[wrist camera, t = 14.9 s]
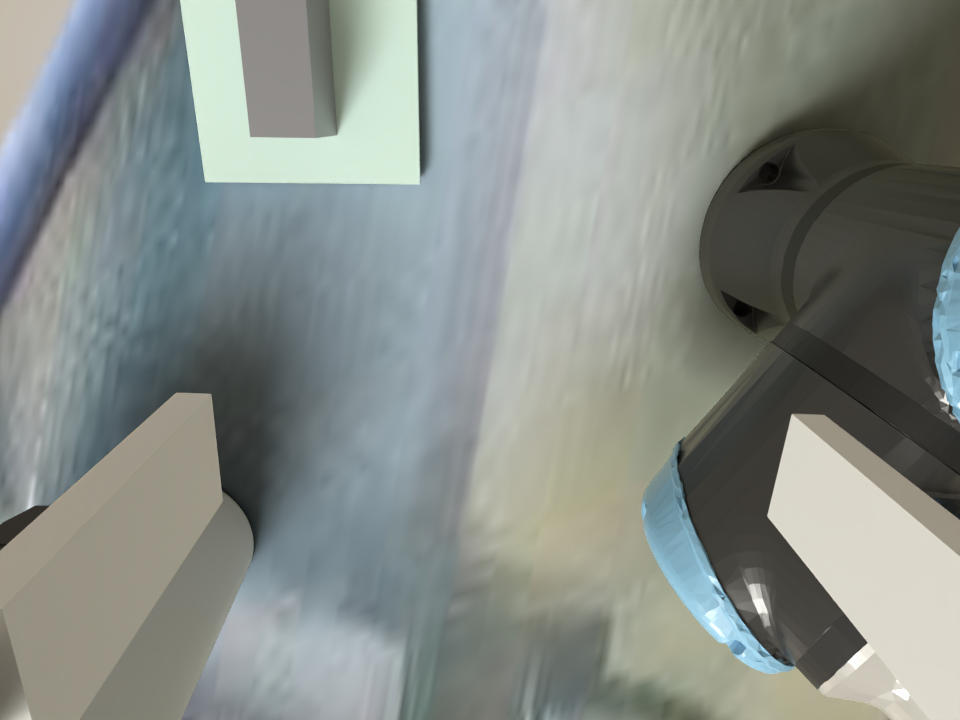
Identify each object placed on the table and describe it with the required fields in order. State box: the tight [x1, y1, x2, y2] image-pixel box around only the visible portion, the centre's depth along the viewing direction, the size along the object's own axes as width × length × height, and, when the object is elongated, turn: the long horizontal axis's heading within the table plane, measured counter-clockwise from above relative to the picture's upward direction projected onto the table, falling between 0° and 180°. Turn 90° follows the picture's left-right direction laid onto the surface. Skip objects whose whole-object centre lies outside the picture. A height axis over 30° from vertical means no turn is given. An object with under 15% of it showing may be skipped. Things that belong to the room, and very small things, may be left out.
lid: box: [180, 0, 420, 184], centre depth 36 cm, size 14×14×9 cm
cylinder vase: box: [80, 491, 254, 720], centre depth 41 cm, size 12×12×25 cm
